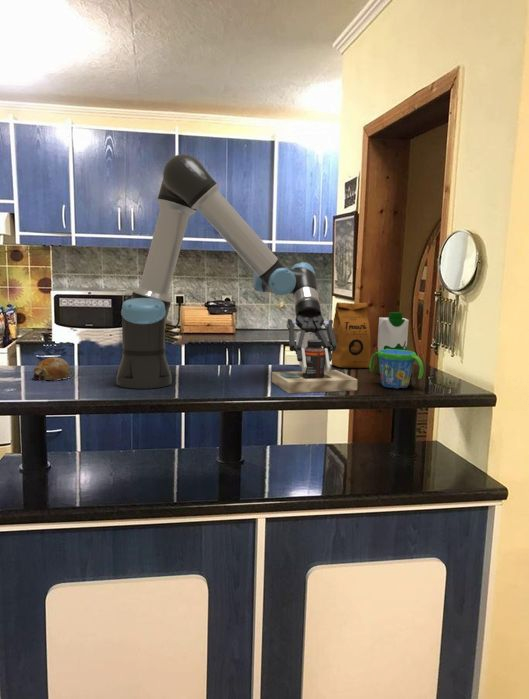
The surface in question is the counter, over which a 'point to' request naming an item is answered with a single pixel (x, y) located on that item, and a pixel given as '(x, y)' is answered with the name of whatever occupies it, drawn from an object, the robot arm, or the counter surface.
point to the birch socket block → (314, 382)
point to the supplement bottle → (314, 360)
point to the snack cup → (396, 367)
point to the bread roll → (52, 369)
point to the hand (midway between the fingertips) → (316, 369)
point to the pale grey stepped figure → (305, 340)
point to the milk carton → (392, 333)
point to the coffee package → (351, 336)
